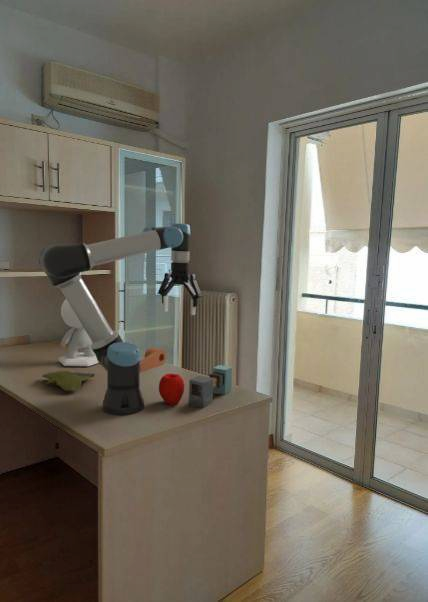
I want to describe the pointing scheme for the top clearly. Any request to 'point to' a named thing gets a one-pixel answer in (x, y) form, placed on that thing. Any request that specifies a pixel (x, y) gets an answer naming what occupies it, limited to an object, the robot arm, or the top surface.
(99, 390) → the top surface
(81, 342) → the big headed doll
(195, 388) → the sleeve
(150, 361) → the crank
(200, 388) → the collared tan post
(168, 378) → the apple
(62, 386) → the toy airplane
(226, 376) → the socket block
